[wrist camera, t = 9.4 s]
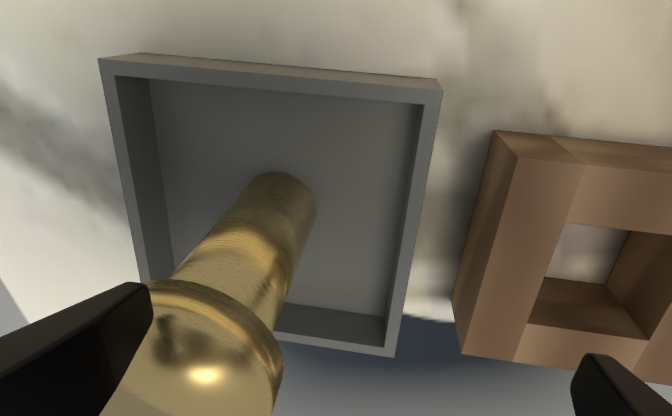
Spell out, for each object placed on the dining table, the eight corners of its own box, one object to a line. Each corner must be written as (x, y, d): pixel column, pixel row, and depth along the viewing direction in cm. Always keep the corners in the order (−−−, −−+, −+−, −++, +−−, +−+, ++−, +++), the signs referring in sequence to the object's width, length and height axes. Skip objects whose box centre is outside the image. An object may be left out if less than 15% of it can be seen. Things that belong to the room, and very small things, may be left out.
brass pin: (335, 163, 19) (268, 336, 9) (328, 258, 22) (270, 477, 11) (225, 151, 20) (42, 301, 9) (231, 245, 22) (92, 444, 12)
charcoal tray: (436, 79, 17) (443, 90, 15) (394, 319, 24) (394, 357, 21) (140, 52, 19) (97, 58, 16) (174, 287, 25) (147, 319, 22)
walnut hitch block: (728, 153, 17) (815, 188, 14) (635, 326, 22) (682, 387, 18) (494, 129, 18) (518, 157, 14) (450, 300, 22) (461, 353, 19)
